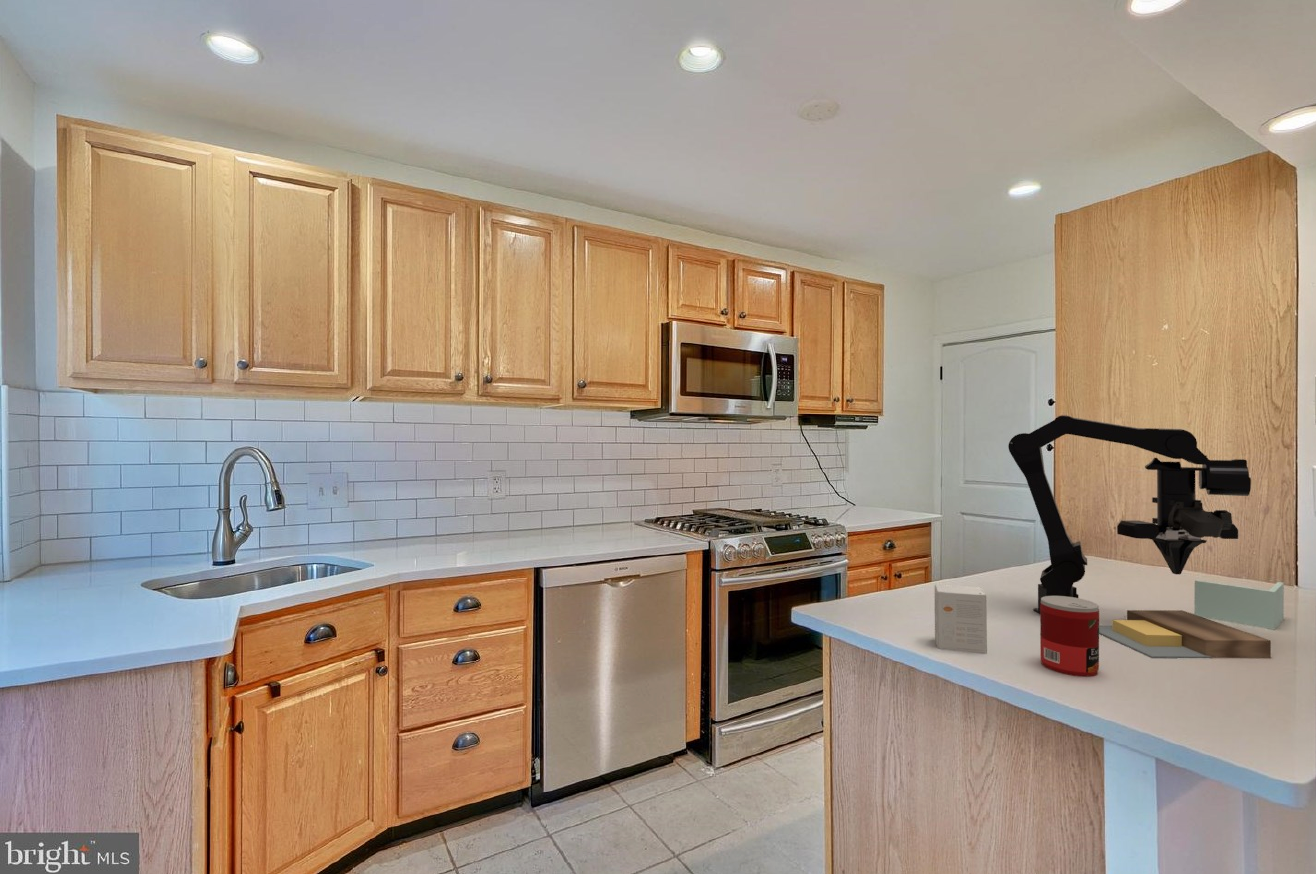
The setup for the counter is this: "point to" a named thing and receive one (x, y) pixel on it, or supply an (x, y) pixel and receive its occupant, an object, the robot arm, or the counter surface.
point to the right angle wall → (1240, 604)
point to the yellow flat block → (1147, 633)
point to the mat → (1150, 650)
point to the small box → (961, 618)
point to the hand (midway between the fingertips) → (1176, 574)
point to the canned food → (1069, 635)
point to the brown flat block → (1206, 634)
